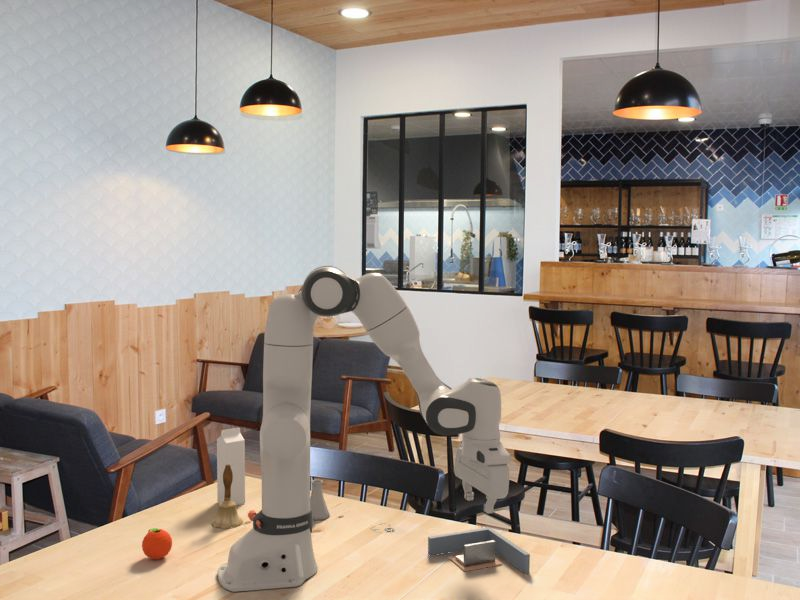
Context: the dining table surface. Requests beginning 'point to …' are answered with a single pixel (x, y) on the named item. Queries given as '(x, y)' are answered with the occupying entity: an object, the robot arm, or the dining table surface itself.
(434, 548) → the grey l-shaped piece
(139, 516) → the dining table surface
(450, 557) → the mat
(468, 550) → the angle bracket
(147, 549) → the clementine
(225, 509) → the wooden handled brush
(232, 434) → the milk
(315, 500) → the flask
